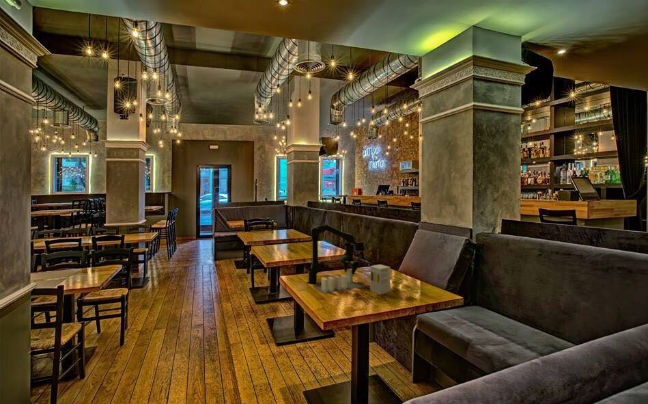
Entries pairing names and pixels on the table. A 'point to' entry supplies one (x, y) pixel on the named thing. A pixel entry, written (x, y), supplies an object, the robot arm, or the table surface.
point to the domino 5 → (349, 276)
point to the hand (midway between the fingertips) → (349, 273)
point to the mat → (349, 286)
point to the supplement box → (380, 279)
